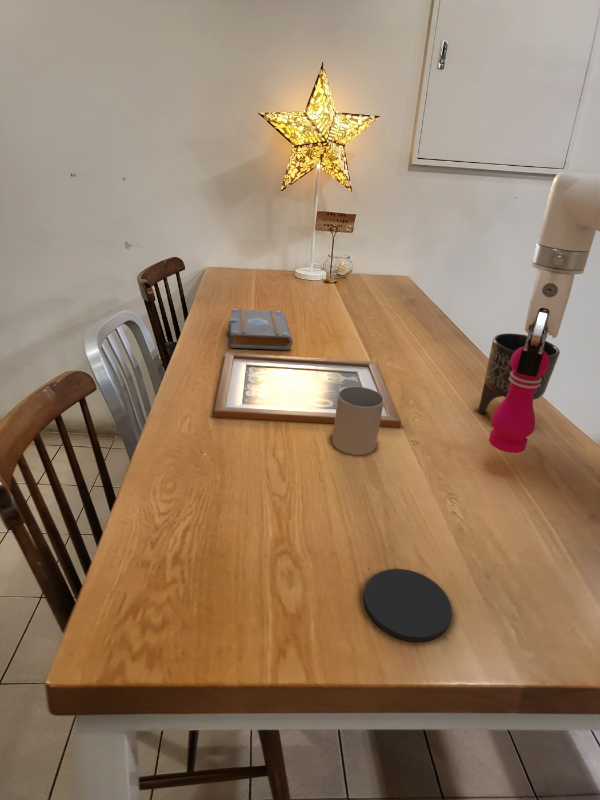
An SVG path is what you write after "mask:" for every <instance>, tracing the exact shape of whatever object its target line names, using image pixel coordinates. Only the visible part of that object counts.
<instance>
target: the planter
mask: <svg viewBox="0 0 600 800" xmlns="http://www.w3.org/2000/svg"><path fill="white" fill-rule="evenodd" d="M527 336H528V334H527V335H526V334H521V333H499V334H496V335H495V336H494V337H493V338H492V342H491V347H490V352H489V356H488V361H487V365H486V371H485V374H484V375H485V376H484V383H483V388H482V393H481V397H480V401H479V402H480V403H479V407H478V410H477V411H478V413H481V414H485V413H486V411H487V409H488V407H489V404H491V402H492V401H493V400H494V399H496V398H501V397H503V398H505V397H506V396H507V394H508V391H509V388H510V383H511V382H510V380H509V377H510V373H511V371H513V369H512V367H511V364H510V361H511V357H512V355H513V353H514V352H515V351H516V350H517V349H519V348H521V347H524V346H525V342H526V339H527ZM546 342H547V343H546V346H545V349H544V351H545V352H546V353H547V355H548V357H549V361H550V363H549V368H548V370H547V372H546V373H545V374H543V375H542V376H540V377H541V378H542V380H541V382H540V386H539V387H538V388H536V390H535V392H534V396H533V401H535V400H537V399H540V398H542V396H543V395H544V394H546V393H545V392H546V391H547V388H548V385H549V382H550V380H551V378H552V375H553V372H554V369H555V367H556V364H557V362H558V359H559V356H560V354H561V351H560V349H559V348H558V346H557V345H555V344H553V343H551V342H549V341H547V340H546Z"/></svg>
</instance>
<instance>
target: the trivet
mask: <svg viewBox="0 0 600 800" xmlns="http://www.w3.org/2000/svg"><path fill="white" fill-rule="evenodd" d="M450 601H451V600H450V599H449V597H448V595H447V594H446V593H445V591H444V590H443V589H442V587H441V586H439V584H437V583H436V582H435V581H434V580H433V579H431V578H429V577H427V576H426V575H424V574H421V573H419V572H416V571H413V570H410V569H404V568H390V569H386V570H383V571H380V572H377V573H375V574H374V575H373V576H372V577H371V578H370V579H369V580H368V582H367V583H366V585H365V588H364V593H363V604H364V608H365V611H366V613H367V615H368V617H369V618H370V619H371V620H372V621H373V623H374V624H375V625H376V626H377V627H378V628H380V629H381V630H382V631H383V632H385V633H386V634H388V635H390V636H392V637H394V638H397V639H400V640H403V641H409V642H414V643H415V642H416V643H419V642H429V641H432V640H435V639H437V638H439V637H440V636H441V635H443V634H444V633H445V632H446V630H447V629H448V628H449V625H450V623H451V620H452V614H453V613H452V611H453V610H452V605H451V602H450Z"/></svg>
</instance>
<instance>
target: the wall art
mask: <svg viewBox="0 0 600 800" xmlns="http://www.w3.org/2000/svg"><path fill="white" fill-rule="evenodd" d="M347 387H364V388H369V389H372V390H374V391H376V392H378V393H379V394H381V395H382V396H383V399H384V403H383V409H382V414H381V420H380V426H379V427H389V428H400V427H401V425H402V420H401V417H400V415H399V414H398V411H397V409H396V406H395V404H394V402H393V399H392V397H391V394H390V393H389V390H388V387H387V385H386V383H385V380H384V379H383V376H382V374H381V371H380V369H379V367H378V365H377V362H376V361H370V360H369V361H367V360H353V359H352V360H351V359H339V358H338V359H336V358H323V357H322V358H321V357H307V356H306V357H305V356H293V355H292V356H291V355H278V354H277V355H275V354H262V353H261V354H259V353H245V352H230V351H226V352H225V355H224V359H223V365H222V369H221V373H220V379H219V384H218V389H217V394H216V399H215V404H214V408H213V417H214V418H225V419H243V420H259V421H260V420H261V421H262V420H263V421H278V422H280V421H281V422H296V423H301V422H302V423H317V424H332V425H334V423H335V416H336V408H337V401H338V394H339V391H340V390H342V389H343V388H347Z"/></svg>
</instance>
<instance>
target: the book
mask: <svg viewBox="0 0 600 800" xmlns="http://www.w3.org/2000/svg"><path fill="white" fill-rule="evenodd" d="M228 323H229V324H228V336H229V337H230V348H232V349H254V350H255V349H257V350H259V349H260V350H280V351H281V350H282V351H283V350H284V351H289V350H290V349H291V348H292V346H293V344H294V343H293V342H294V341H293V338H292V337H293V336H292V334H291V330H290V327H289V323H288V318H287V315H286V313H285V312H284V311H283V310H282V311H281V310H263V309H244V308H230V318H229V322H228Z"/></svg>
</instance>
